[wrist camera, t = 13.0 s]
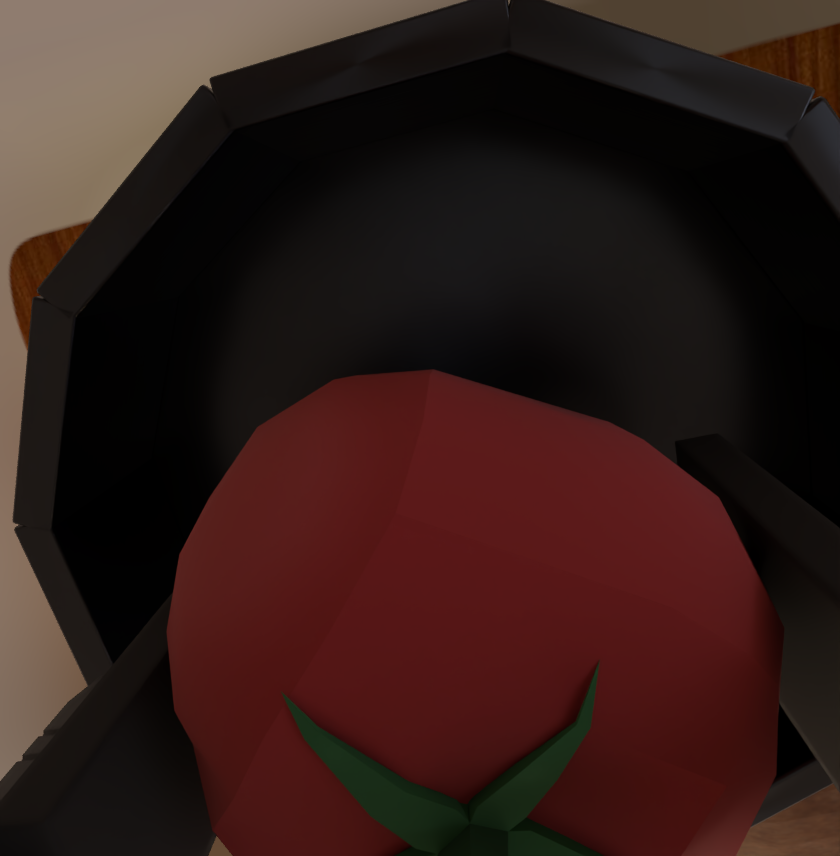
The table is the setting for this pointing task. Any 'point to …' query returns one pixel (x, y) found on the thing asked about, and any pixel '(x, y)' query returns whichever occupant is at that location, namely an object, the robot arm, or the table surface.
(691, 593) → the tomato
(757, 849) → the bread
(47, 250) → the table surface
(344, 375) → the pan
